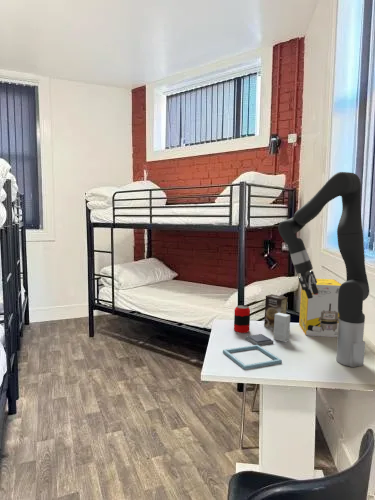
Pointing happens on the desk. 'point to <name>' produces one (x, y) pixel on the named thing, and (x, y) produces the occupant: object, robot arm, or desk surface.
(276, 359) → the frame
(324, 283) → the packaging box
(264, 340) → the ink pad
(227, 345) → the desk surface
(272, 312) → the coffee box
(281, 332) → the skincare box
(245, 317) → the soda can
